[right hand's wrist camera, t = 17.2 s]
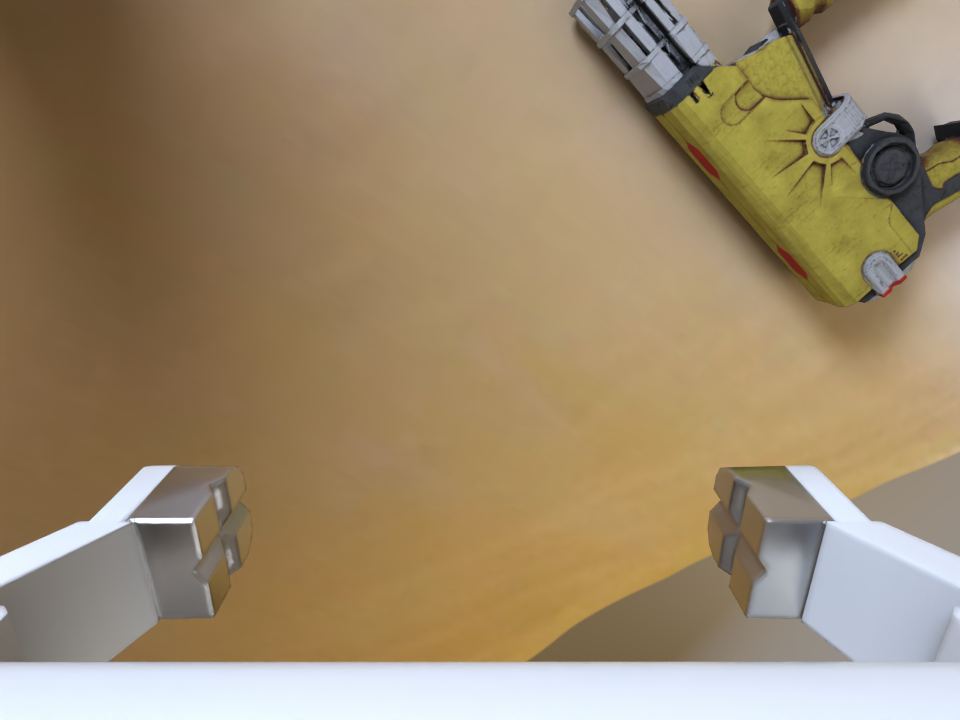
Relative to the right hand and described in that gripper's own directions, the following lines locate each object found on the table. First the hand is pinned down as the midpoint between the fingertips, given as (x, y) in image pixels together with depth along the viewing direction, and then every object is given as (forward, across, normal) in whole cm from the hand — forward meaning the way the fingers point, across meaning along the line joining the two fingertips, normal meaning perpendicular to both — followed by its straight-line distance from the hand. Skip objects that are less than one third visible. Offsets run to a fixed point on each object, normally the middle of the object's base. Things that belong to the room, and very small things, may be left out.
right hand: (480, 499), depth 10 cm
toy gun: (+30, +19, +9) cm, 36 cm away
